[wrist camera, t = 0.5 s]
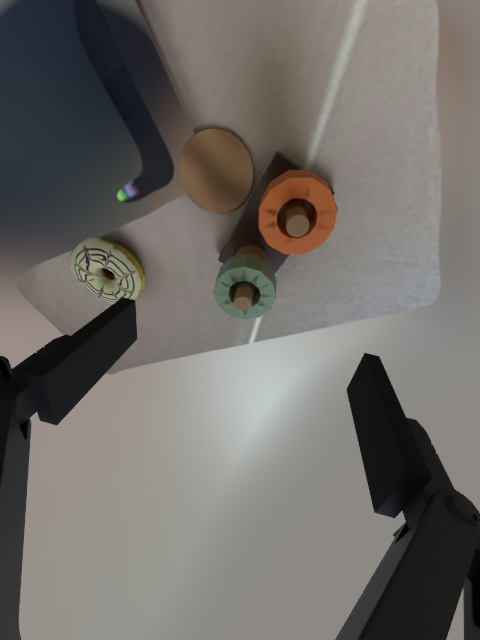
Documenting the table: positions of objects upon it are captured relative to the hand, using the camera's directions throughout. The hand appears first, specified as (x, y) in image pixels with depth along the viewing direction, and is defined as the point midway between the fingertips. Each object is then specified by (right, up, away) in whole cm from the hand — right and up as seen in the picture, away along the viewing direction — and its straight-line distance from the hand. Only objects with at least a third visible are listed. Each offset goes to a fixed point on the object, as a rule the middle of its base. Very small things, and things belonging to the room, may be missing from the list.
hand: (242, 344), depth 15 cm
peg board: (+4, +14, +20) cm, 25 cm away
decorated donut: (-20, +10, +27) cm, 35 cm away
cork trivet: (-3, +19, +17) cm, 26 cm away
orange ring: (+6, +13, +12) cm, 18 cm away
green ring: (+1, +6, +18) cm, 19 cm away
